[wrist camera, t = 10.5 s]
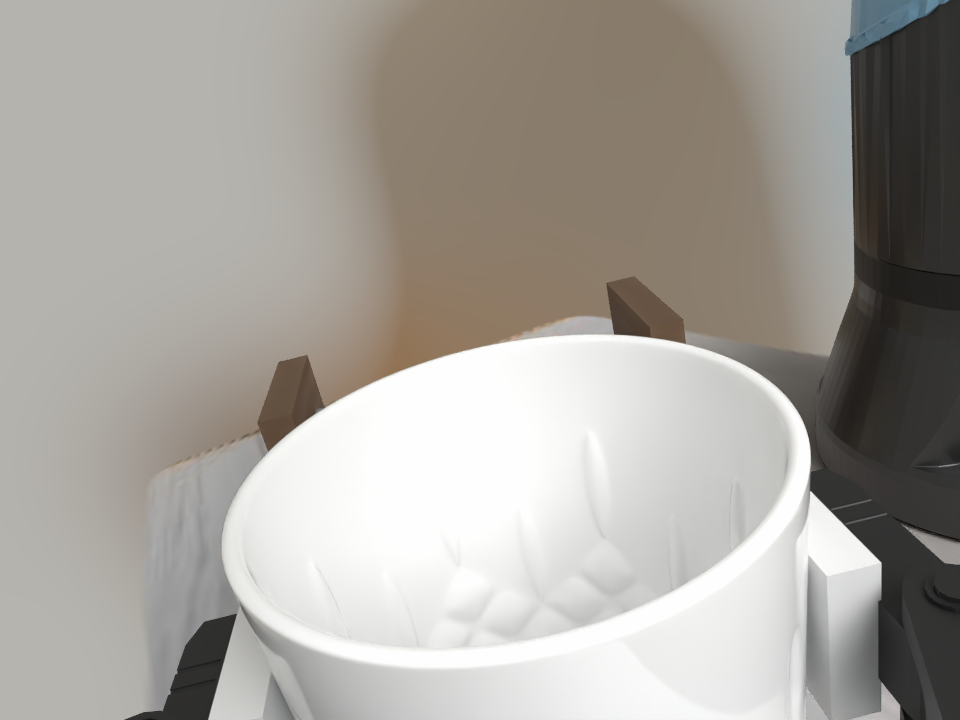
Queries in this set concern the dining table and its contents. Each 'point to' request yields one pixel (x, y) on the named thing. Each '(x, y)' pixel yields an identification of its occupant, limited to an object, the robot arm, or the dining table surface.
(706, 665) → the white cup
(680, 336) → the offcut rack
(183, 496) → the dining table surface
